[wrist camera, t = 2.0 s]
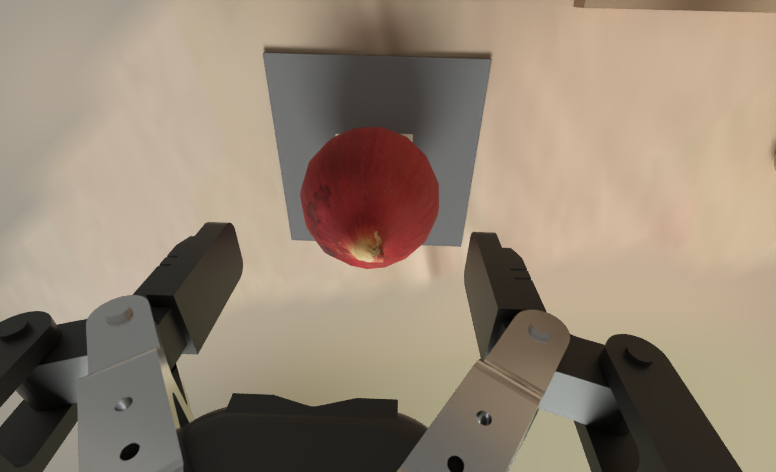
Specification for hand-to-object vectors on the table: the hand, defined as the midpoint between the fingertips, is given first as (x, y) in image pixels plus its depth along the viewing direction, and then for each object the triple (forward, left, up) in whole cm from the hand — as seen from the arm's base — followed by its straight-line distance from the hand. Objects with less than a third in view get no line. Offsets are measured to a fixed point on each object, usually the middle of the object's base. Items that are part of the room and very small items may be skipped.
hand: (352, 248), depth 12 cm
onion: (0, 0, -8) cm, 8 cm away
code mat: (0, 0, -8) cm, 8 cm away
